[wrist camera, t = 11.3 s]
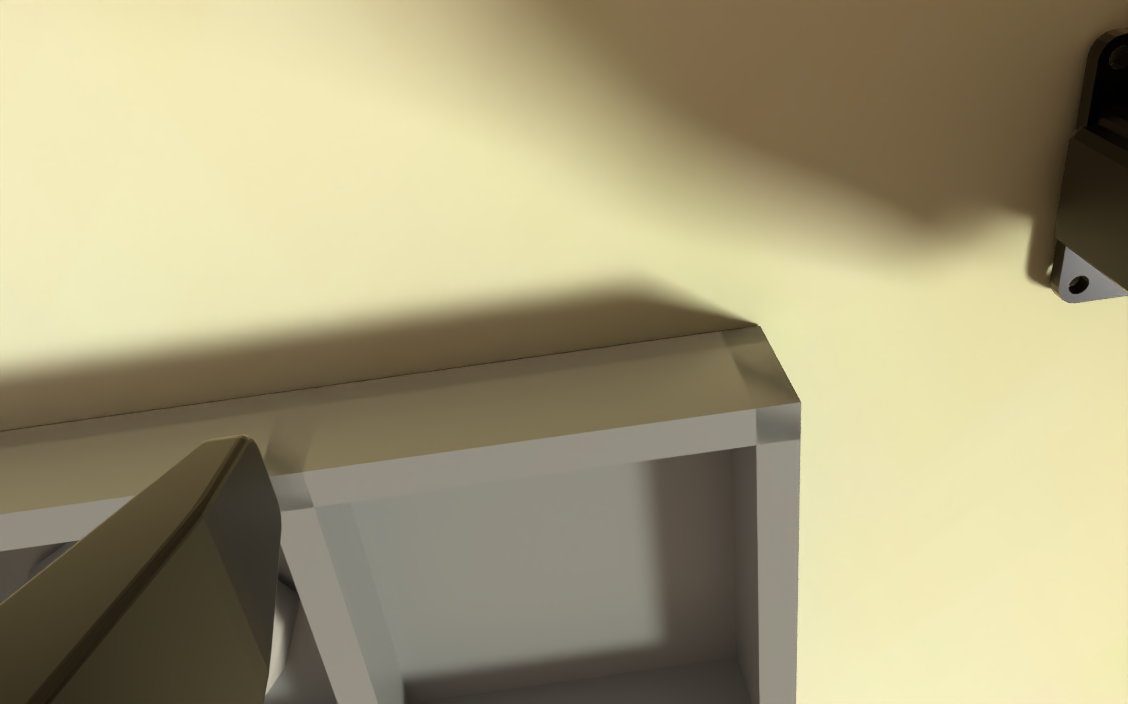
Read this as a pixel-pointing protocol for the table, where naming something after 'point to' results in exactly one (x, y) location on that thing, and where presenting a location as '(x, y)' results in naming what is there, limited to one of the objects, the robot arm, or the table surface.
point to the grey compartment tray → (493, 523)
